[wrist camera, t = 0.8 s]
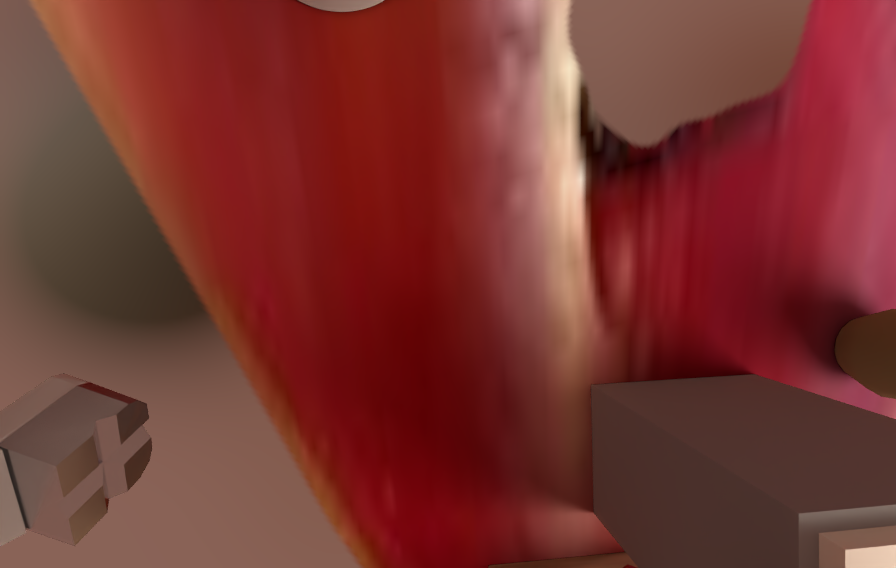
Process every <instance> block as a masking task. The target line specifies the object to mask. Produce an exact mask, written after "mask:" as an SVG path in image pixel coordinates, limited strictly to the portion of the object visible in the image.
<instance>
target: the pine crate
mask: <svg viewBox="0 0 896 568" xmlns="http://www.w3.org/2000/svg"><path fill="white" fill-rule="evenodd" d="M627 564H628V565H631V566H634V567H637V565H636V564H635V563H634V562H633V560H632V559H631V558H630V557H629V556H628V554H627V553H626V552H621V553H611V554H601V555H590V556H580V557H570V558H560V559H550V560H539V561H529V562H519V563H509V564H498V565H489V568H623V567H624V566H626V565H627ZM637 568H638V567H637Z"/></svg>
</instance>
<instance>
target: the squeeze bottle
mask: <svg viewBox="0 0 896 568" xmlns="http://www.w3.org/2000/svg"><path fill="white" fill-rule="evenodd" d="M835 355H836V359H837V362H838V364H839V365H840V367H841V368H842V369H843V371H844V372H846V373H847V374H848V375H850V376H851V377H852V378H854V379H855V380H856V381H858V382H859V383H860V384H862V385H863V386H865V387H866V388H867V389H869V390H871V391H873V392H874V393H876V394H878V395H880V396H882V397H888V398H894V399H896V309H890V310H887V311H883V312H879V313H875V314H871V315H867V316H863V317H860V318H857V319H854V320H851V321H849V322H848V323H847V324H846V325H845V326H844V327H843V328H842V329H841V330H840V332H839V334H838V336H837V338H836V343H835Z"/></svg>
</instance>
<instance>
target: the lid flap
mask: <svg viewBox="0 0 896 568" xmlns="http://www.w3.org/2000/svg"><path fill="white" fill-rule="evenodd" d="M819 568H896V526H886V527H875V528H865V529H855V530H845V531H835V532H824V533H819Z"/></svg>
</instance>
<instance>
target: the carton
mask: <svg viewBox="0 0 896 568" xmlns="http://www.w3.org/2000/svg"><path fill="white" fill-rule="evenodd" d="M591 411H592V456H593V502H594V514H595V515H596V516H597V518H598V519H599V520H600V521H601V522H602V524H603V525H604V526H605V527H606V529H607V530H608V531H609V532H610V533H611V535H612V536H613V537H614V538H615V540H616V541H617V542H618V543H619V545H620V546H621V547H622V548H623V549H624V551H625V552H626V553H627V554H628V556H629V557H630V558H631V559H632V560H633V562H634V563H635V564H636V565H637V567H638V568H819V533H824V532H835V531H845V530H855V529H865V528H875V527H886V526H896V419H893V418H890V417H887V416H884V415H880V414H877V413H874V412H871V411H868V410H865V409H862V408H858V407H855V406H852V405H849V404H846V403H843V402H840V401H837V400H833V399H830V398H827V397H824V396H821V395H818V394H815V393H811V392H808V391H805V390H802V389H799V388H796V387H793V386H790V385H786V384H783V383H780V382H777V381H774V380H771V379H768V378H764V377H761V376H758V375H755V374H751V375H735V376H720V377H704V378H688V379H672V380H656V381H640V382H625V383H609V384H593V385H591Z"/></svg>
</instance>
